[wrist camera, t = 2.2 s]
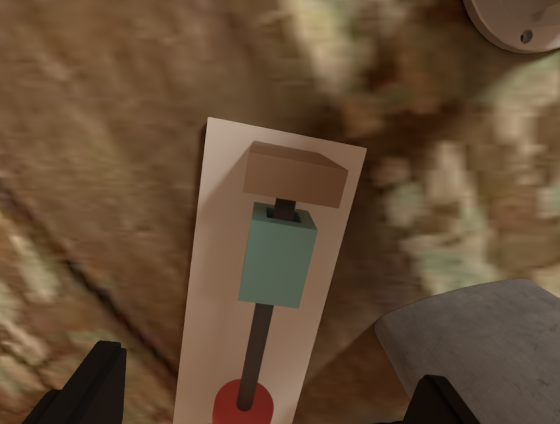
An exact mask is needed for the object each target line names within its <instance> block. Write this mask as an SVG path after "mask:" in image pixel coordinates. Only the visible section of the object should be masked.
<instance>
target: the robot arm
mask: <svg viewBox="0 0 560 424" xmlns="http://www.w3.org/2000/svg"><path fill="white" fill-rule="evenodd" d="M463 3H464V5H465V8H466V11H467V13H468V16H469V17H470V19H471V21H472V22H473V24H474V25H475V27H476V29H477V30H478V31H479V32H480V33H481V34H482V35H483V36H484V37H485V38H486V39H487V40H488V41H490V42H491V43H493V44H495V45H496V46H498V47H500V48H502V49H505V50H508V51H511V52H514V53H526V54H533V53H539V52H546V51H550V50H553V49H557V48H560V0H463ZM126 354H127V350H126V349H125V348H121V343H119V342H111V341H101V340H100V341H98V342H97V343H96V344H95V346H94V347H93V348H92V350H91V351H90V352H89V354H88V355H87V356H86V358H85V359H84V360H83V362H82V363H81V364H80V366H79V367H78V368H77V370H76V371H75V372H74V374H73V375H72V376H71V378H70V379H69V380H68V382H67V383H66V385H65V386H64V387H63V389H62V390H56V389H55V390H51V391H49V392H48V393H46V394H45V396H44V397H43V398H42V399H41V400H40V401H39V403H38V404H37V405H36V406H35V408H34V409H33V410H32V411H31V413H30V414H29V415H28V416H27V418H26V419H25V420H24V421H23V423H22V424H121V423H122V419H123V405H124V388H125V371H126ZM402 424H481V423H480V422H479V421H478V419H477V418H476V417H475V415H474V414H473V413H472V411H471V410H470V409H469V407H468V406H467V405H466V403H465V402H464V401H463V399H462V398H461V396H460V395H459V394H458V392H457V391H456V390H455V388H454V387H453V386H452V384H451V383H450V382H449V380H448V379H447V378H446V377H444V376H439V375H430V374H426V375H424V376H423V378H422V379H420V380H419V381H418V384H417V386H416V389H415V391H414V394H413V396H412V399H411V401H410V404H409V406H408V409H407V411H406V414H405V416H404V419H403V422H402Z"/></svg>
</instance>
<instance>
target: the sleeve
mask: <svg viewBox="0 0 560 424" xmlns="http://www.w3.org/2000/svg"><path fill="white" fill-rule="evenodd" d="M274 207H275V205H271V204H265V203H259V202H254V205H253V211H252V217H251V223H250V228H249V234H248V240H247V246H246V252H245V257H244V263H243V269H242V276H241V283H240V290H239V297H238V301H245V302H253V303H260V304H268V305H275V306H283V307H290V308H298V309H299V306H300V301H301V297H302V293H303V289H304V285H305V281H306V277H307V273H308V269H309V265H310V261H311V257H312V252H313V248H314V244H315V240H316V236H317V232H318V230H317V228H316V226H315V224H314V222H313V219H312V217H311V215H310V213H309V211H307V210H301V209H295V210H294V215H293V220H292V221H285V220H279V219H273V218H272V217H273V212H274Z"/></svg>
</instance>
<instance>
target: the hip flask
mask: <svg viewBox="0 0 560 424" xmlns="http://www.w3.org/2000/svg"><path fill="white" fill-rule="evenodd" d="M374 331H375V334H376V336H377V338H378V340H379V341H380V343H381V345H382V347H383V349H384V351H385V353H386V355H387V357H388V359H389V361H390V363H391V364H392V366H393V368H394V370H395V372H396V374H397V376H398V378H399V380H400V382H401V384H402V386H403V387H404V389H405V391H406V393H407V395H408V397H409V399H410V401H411V399H412V396H413V394H414V391H415V389H416V386H417V384H418V381H419V380H420V379H422V378H423V376H424V375H426V374H430V375H439V376H444V377H446V378H447V379H448V380H449V382H450V383H451V384H452V386H453V387H454V388H455V390H456V391H457V392H458V394H459V395H460V396H461V398H462V399H463V401H464V402H465V403H466V405H467V406H468V407H469V409H470V410H471V411H472V413H473V414H474V415H475V417H476V418H477V419H478V421H479V422H480V423H481V424H560V298H558V297H556V296H555V295H553V294H551V293H550V292H548V291H546V290H545V289H543V288H541V287H540V286H538V285H536V284H535V283H533V282H531V281H530V280H528V279H512V280H503V281H496V282H490V283H484V284H479V285H474V286H469V287H465V288H461V289H457V290H453V291H449V292H445V293H442V294H438V295H435V296H432V297H428V298H426V299H423V300H420V301H417V302H414V303H411V304H409V305H406V306H404V307H401V308H399V309H396V310H394V311H392V312H390V313H387V314H385V315H383V316H381V317H380V318H379V319H378V320H377V321H376V323H375V326H374Z"/></svg>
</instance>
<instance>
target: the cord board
mask: <svg viewBox="0 0 560 424" xmlns="http://www.w3.org/2000/svg"><path fill="white" fill-rule="evenodd" d="M366 151H367V148H363V147H359V146H354V145H349V144H344V143H339V142H334V141H329V140H324V139H319V138H314V137H308V136H303V135H298V134H293V133H288V132H283V131H278V130H273V129H268V128H263V127H258V126H253V125H248V124H243V123H238V122H233V121H228V120H223V119H217V118H212V117H208V122H207V131H206V139H205V148H204V157H203V165H202V174H201V183H200V191H199V200H198V209H197V218H196V226H195V235H194V244H193V252H192V261H191V270H190V278H189V287H188V296H187V305H186V313H185V322H184V331H183V339H182V348H181V357H180V365H179V374H178V383H177V392H176V400H175V409H174V418H173V424H292V422H293V418H294V415H295V411H296V407H297V404H298V400H299V396H300V393H301V389H302V385H303V382H304V378H305V374H306V371H307V367H308V363H309V360H310V356H311V352H312V349H313V345H314V341H315V338H316V334H317V330H318V327H319V323H320V319H321V316H322V312H323V308H324V305H325V301H326V297H327V294H328V290H329V286H330V283H331V279H332V276H333V272H334V268H335V265H336V261H337V257H338V254H339V250H340V246H341V243H342V239H343V235H344V232H345V228H346V224H347V221H348V217H349V213H350V210H351V206H352V202H353V199H354V195H355V191H356V188H357V184H358V180H359V177H360V173H361V169H362V166H363V162H364V158H365V155H366ZM254 202H259V203H265V204H271V205H275V207H274V212H273V217H272V218H273V219H279V220H285V221H292V220H293V215H294V210H295V209H301V210H307V211H309V213H310V215H311V217H312V219H313V222H314V224H315V226H316V228H317V230H318V232H317V236H316V240H315V244H314V248H313V252H312V257H311V261H310V265H309V269H308V273H307V277H306V281H305V285H304V289H303V293H302V297H301V301H300V306H299V309H298V308H290V307H283V306H275V305H268V304H260V303H253V302H245V301H238V297H239V290H240V283H241V276H242V269H243V263H244V257H245V252H246V246H247V240H248V234H249V228H250V223H251V217H252V211H253V205H254Z"/></svg>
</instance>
